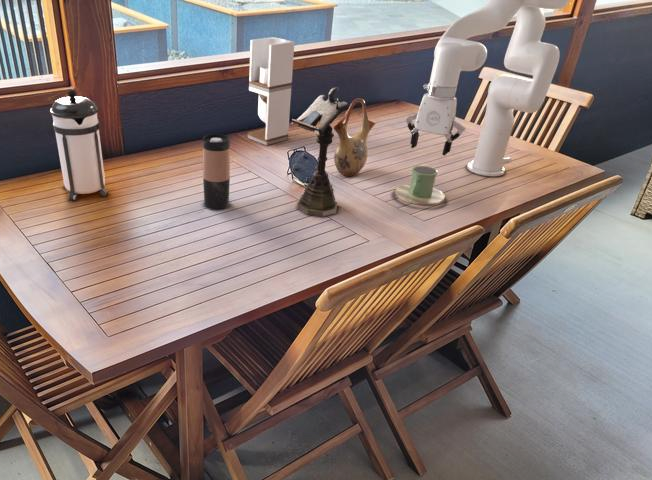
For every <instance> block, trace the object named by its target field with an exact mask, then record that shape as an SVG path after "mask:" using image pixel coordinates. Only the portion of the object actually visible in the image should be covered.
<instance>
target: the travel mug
mask: <svg viewBox="0 0 652 480" xmlns="http://www.w3.org/2000/svg"><path fill="white" fill-rule="evenodd" d="M230 141H231V139H230V136H228V135H225V134H222V133H221V134H220V133H209V134H206V135H204V136H203V137H202V181H203V182H202V183H203V184H202V185H203V203H204V206H205V207H206V208H208V209H210V210H213V211H215V210H216V211H217V210H218V211H219V210H224V209H226V208H227V207H229V203H230V202H229V201H230V180H231V179H230V178H231V167H230V166H231V162H230V160H231V158H230V157H231V154H230V152H231V151H230V150H231V147H230V146H231V142H230Z"/></svg>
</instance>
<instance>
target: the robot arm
mask: <svg viewBox="0 0 652 480" xmlns="http://www.w3.org/2000/svg"><path fill="white" fill-rule="evenodd" d="M570 2H571V0H487V1H486V2H485V4H484V5H483V6H482V7H480V8H477V9H475V10H474V11H471V12H470V13H468V14H465V15H464V16H462V17H460V18H458V19H457V20H455V21H454V22H453V23H451V24H450V25H449V27H448V28H447V29H446V31H445V32H444V33H443V34H442V35H441V37H440V38H439V39H438V42H437V43H436V45H435V48H434V52H433V58H434V59H433V63H432V69H431V73H430V78H429V82H428V83H424V85H423V89H424V90H426V93H424V94H423V96H422V99H421V101H420V105H419V108H418V111H417V112H416V113H414V114H411V115H407V116H406V117H405V121H406V125H407V128H408V130H409V131H410V134H411V137H410V145H411V146H410V149H415V148H416V147H417V146H418V142H419V137H420V132H419V131H421V132H424V133H429V134H434V135H438V136H444V137H445V139H446V141H445V142H444V145H443V150H442V154H441V155H442V156H443V157H444V156H447V154H448V153H450V152H451V149H452V144H453V141H455V140H457V139H458V138H459V137H460V136H461V135H462V134H463V133H464V132H465V130H466V127H465V126H464V125H462V124H461V123H460V122H459V121H457V120H456V114H457V99H458V98H457V97H456V93H457V89H458V83H459V79H460V74H461V72H474V71H476V70H479V69H480V68H481V67H482V66H483V65H484V64H485V62H486V60H487V57H488V49H487V48H486V46H485V45H484V44H482V43H481V42H480V41H479V42H478V41H474V40H469V39H470V38H473V37H476V36H482V35H489V34H491V33H496V32H499V31H501V30H503V29H505V28H506V27H507V25H508V24H509V23H510V22H511V21H512V19H513V18H514V17H515V15H516V20H515V25H514V28H513V31H512V34H511V36H510V40H509V43H508V45H507V48H506V52H505V55H504V59H503V65H504V68H505V69H507V70H508V71H512V72H515V73H520V74H525V75H529V76H532V79H528V78H524V77H520V76H515V75H509V74H501V75H497V76H495V78H493V79H492V80H491V82H490V83H489V86H488V90H487V101H486V107H485V113H484V117H483V121H482V124H481V125H482V126H481V129H480V133H479V137H478V141H477V144H476V149H475V152H474V157H473V160H472V161H469V162H467V165H466V169H467V170H468V171H469V172H471V173H473V174H476V175H480V176H483V177H500V176H503V175H504V174H505V171H506V169H505V167H504V166H505V165H506V164H507V165H508V164H511V163H512V161H513V159H512V157H505V155H506V152H507V147H508V144H509V141H510V138H511V135H512V131H513V128H514V124H515V117H514V116H515V115H514V112H513V110H515V111H519V112H522V113H527V114H534V113H536V112H538V111H539V110H540V108H542V105H543V103H544V101H545V99H546V97H547V94H548V91H549V89H550V86H551V84H552V81H553V80H554V76H555V74H556V71H557V68H558V65H559V62H560V55H561V53H560V49H559V47H558V46H557V45H556V44H553V43H548V42H543V41H541V40H542V36H543V35H544V30H545V29H546V24H547V23H546V16H545V12H544V10H549V11H551V10H552V11H560V10H563V9H564V8H565V7H567V5H569V3H570ZM413 120H415V122H414V123H415V124H414V123H413ZM454 128H455V129H457V131H456V132H455V133H454V134H453V132H452V131H453V129H454Z"/></svg>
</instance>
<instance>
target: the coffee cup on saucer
mask: <svg viewBox="0 0 652 480" xmlns="http://www.w3.org/2000/svg"><path fill="white" fill-rule="evenodd" d="M411 173H412V174H411V178H410V183H407V184H402V185H399V186H397V187H396V189H395V191H394V194H395V196H396V197H397V198H398V199H399V200H401V201H404V202H406V203H409V204H413V205H417V206H427V207H429V206H437V205H440V204H442V203H443V202H444V201H445V199H446V195H445V194H444V193H443V191H442V190H440V189H438V188H436V187H435V181H436V177H437V176H438V174H439V171H438V170H437V169H436V168H434V167H431V166H427V165H416V166H413V167H412V169H411Z"/></svg>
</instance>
